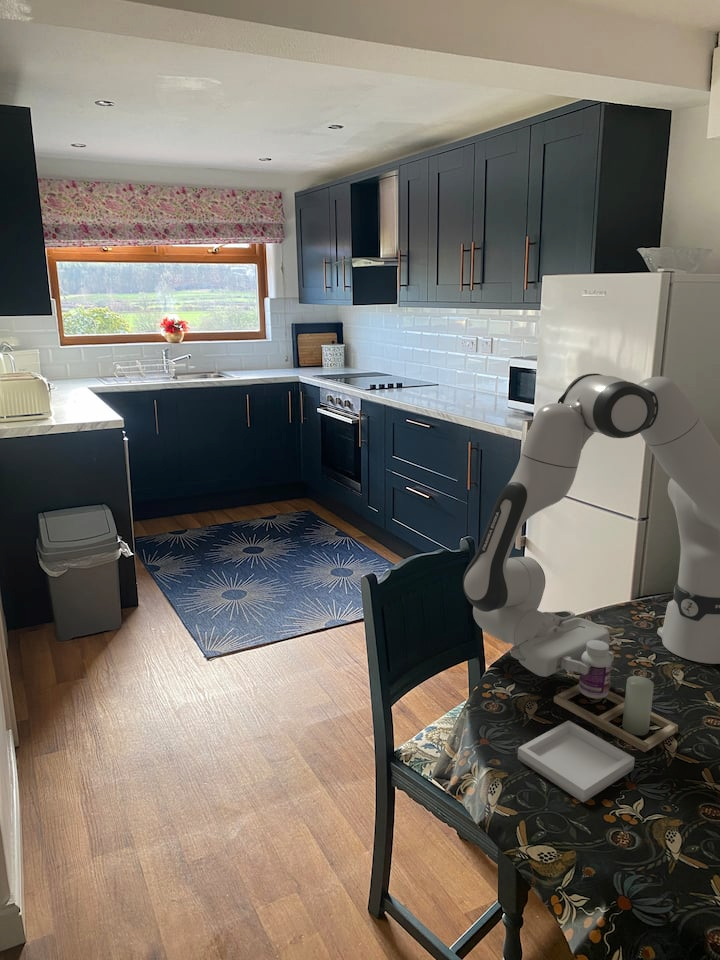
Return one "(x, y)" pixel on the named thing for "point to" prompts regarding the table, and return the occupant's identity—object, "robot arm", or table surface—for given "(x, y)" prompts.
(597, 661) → the pill bottle
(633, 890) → the table surface
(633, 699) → the sage vial
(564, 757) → the grey tray
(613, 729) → the light wood flat frame
